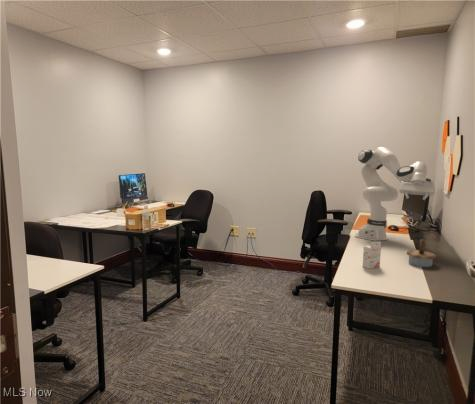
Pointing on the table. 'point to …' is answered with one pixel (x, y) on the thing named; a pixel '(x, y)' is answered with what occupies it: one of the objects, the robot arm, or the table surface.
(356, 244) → the table surface
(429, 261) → the bowl
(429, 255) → the lid
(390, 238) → the table surface
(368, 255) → the ink cartridge box
